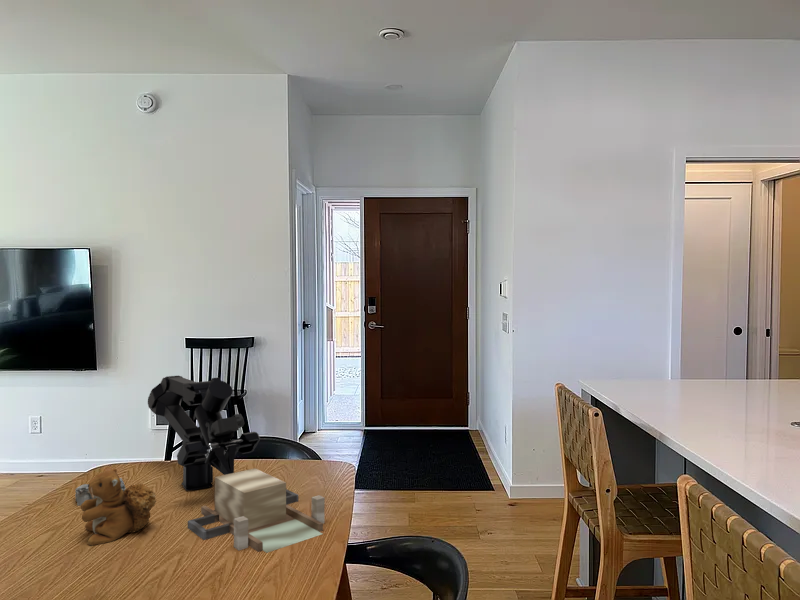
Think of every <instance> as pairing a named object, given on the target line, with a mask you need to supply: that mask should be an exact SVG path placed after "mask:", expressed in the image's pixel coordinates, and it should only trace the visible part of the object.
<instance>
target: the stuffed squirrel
mask: <svg viewBox="0 0 800 600" xmlns="http://www.w3.org/2000/svg"><path fill="white" fill-rule="evenodd" d="M117 471H118V470H117V468H112V469H110V470H106V471H103V472H101V473H98V474H97V475H96V476H94V477H93V478H92V479H91V480H89V482H88V484H89V485H88V493H90V494H91V496H92V498H93V497H96V499H94V498H93V499H90V500H86V501H84V503H82V504H81V505H80V510H82V512H83V513H82V514H81V520H82V521H83V522H85V523H86V524H85V525H84V528H85V530H86V531H90V532H93V533H94V534H92V535H91V536H90V537H89V539H88V540H87V544H88V546H96V545H97V546H98V545H102V544H106V543H110V542H111V543H112V542H113V541H116V540H118V539H120V538H121V537H123V536H124V535H125V534H126V533H128V534H129V533H135V532H139V531H141V530H142V529H143V528H144V527H145V526H147V525H148V522H149V521H150V518H151V510H152V509H153V507H155V505H156V501H157V499H156V495H157V494H156V492H154V491H153V490H152V489H150V488H149V487H148V486H147V485H145V484H143V483H136V484H130V486H128V487H127V488H126V489H125V491H123V490H122V489H121V482H120V479H119V478H120V476H119V474H118V472H117Z"/></svg>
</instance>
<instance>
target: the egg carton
mask: <svg viewBox="0 0 800 600" xmlns="http://www.w3.org/2000/svg"><path fill="white" fill-rule="evenodd" d="M119 479H120V482H121V489H122V490H123V491H125V490H126V489H127V488H126V485H125V482H124V480H123V478H122V477H119ZM88 485H89V483H88V484H87V483H83V484H81V485H79V486H78V487H76V488H75V491H74V492H75V496H74V497H75V502H77V504H76V505H77V506H81V504H82V503H84V501H86V500H90V499H93V498H94V499H96V497H93V498H92V496H91V494H90V493H88Z"/></svg>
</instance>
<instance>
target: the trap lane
mask: <svg viewBox="0 0 800 600" xmlns="http://www.w3.org/2000/svg"><path fill="white" fill-rule="evenodd" d="M297 502H299V494H298V493H295V492H293V491H291V490H289V489H287V488H286V519H284V520H280V521H277V522H274V523H270V524H267V525H264V526H260V527H257V528H253V529H250V530H248V519H247V518H246V517H244V516H242V517H239V518H235V519H234V524H233V523H230V522H229V521H227V520H226V519H224V518H223V517H221V516H220V515H219V514H218V513H216V512H215V509H212V508H210V507H208V506H207V505H202V506H201V508H200V513H201V515H202V516H201V517H198V518H193V519H189V520H187V529H188V530H190V531H191V532H192V533H194V535H196V536H198V537H199V538H200V539H202V540H203V541H205V540H209V539H212V538H216V537H219V536H222V535H226V534H231V535H232V536H233V548H234V549H235V550H237V551H241V550H245V549H247V548H249V547H250V548H252V549H253V550H255V551H256V552H259V553H260V552H261V551H262V552H264V553H266V554H268V553H271V552H274V551H276V550H280V549H282V548H286V547H289V546H291V545H295V544H297V543H301V542H303V541H306V540H309V539H312V538H316V537H319V536H321V535H323V531H324V524H325V505H326V504H325V496H322V495H320V494H318V495H316V496H311V514H310V515H311V516H310V515H308V514H306V513H305V512H302V511H300V510H298V509H296V508H294V507H292V506H290V504H294V503H297ZM218 522H219V523H221V524H222V525H221V524H220V525H219V526H213V527H211V528H207V529H206V528H205V527H204V526H207V525H211V524H214V523H218Z"/></svg>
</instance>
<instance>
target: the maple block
mask: <svg viewBox="0 0 800 600" xmlns="http://www.w3.org/2000/svg"><path fill="white" fill-rule="evenodd" d="M286 489H287V482H286V481H284V480H281V479H279V478H277V477H276V476H273V475H271V474H269V473H266V472H265V471H262V470H260V469H258V468H255V467H254V468H250V469H245V470H241V471H237V472H236V471H235V472H234V473H231V474H226V475H223V474H222V475H219V476H218V475H217V476H214V510H215V512H216V513H218V514H219V515H220V516H221V517H223V518H224V519H226V520H227V521H229V522H230V523H233V524H234V519H235V518H239V517H242V516H244V517H246V518H247V519H248V530H250V529H253V528H257V527H260V526H264V525H267V524H270V523H274V522H277V521H280V520H284V519H286Z"/></svg>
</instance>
